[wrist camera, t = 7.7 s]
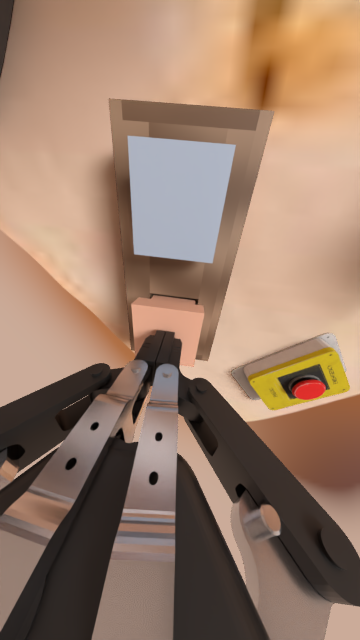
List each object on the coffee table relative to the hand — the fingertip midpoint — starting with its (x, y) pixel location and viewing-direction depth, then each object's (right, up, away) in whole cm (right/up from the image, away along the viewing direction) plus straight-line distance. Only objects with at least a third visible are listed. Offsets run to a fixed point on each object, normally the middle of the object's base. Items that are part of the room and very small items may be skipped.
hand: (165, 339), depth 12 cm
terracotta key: (0, +2, +4) cm, 4 cm away
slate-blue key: (+1, +10, 0) cm, 11 cm away
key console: (+1, +8, +5) cm, 9 cm away
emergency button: (+18, -6, +11) cm, 23 cm away
